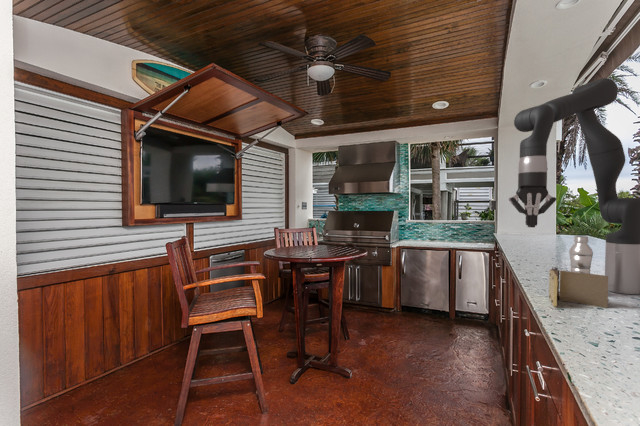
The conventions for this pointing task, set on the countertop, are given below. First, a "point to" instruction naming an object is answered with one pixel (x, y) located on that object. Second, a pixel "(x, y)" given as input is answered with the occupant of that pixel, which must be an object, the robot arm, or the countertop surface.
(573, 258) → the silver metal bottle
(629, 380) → the countertop surface
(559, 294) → the hinge mount
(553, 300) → the plate
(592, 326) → the countertop surface
